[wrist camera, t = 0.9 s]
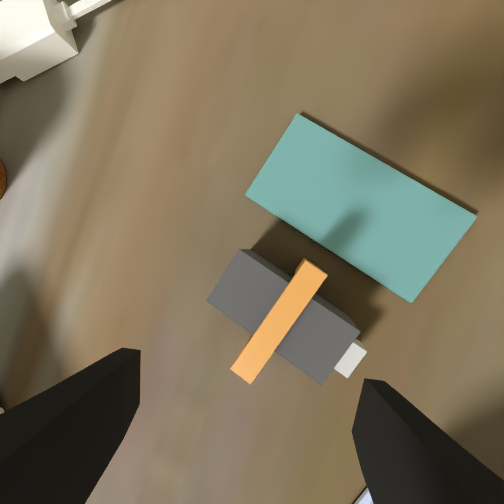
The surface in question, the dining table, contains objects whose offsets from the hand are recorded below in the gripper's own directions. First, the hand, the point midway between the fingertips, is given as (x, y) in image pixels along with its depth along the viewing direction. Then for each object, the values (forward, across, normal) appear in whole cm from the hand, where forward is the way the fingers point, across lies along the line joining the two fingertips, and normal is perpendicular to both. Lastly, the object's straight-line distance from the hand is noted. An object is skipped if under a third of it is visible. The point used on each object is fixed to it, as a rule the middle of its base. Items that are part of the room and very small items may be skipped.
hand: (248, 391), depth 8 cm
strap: (+14, -3, +3) cm, 15 cm away
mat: (+15, -7, -6) cm, 18 cm away
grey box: (+14, -3, +3) cm, 15 cm away
